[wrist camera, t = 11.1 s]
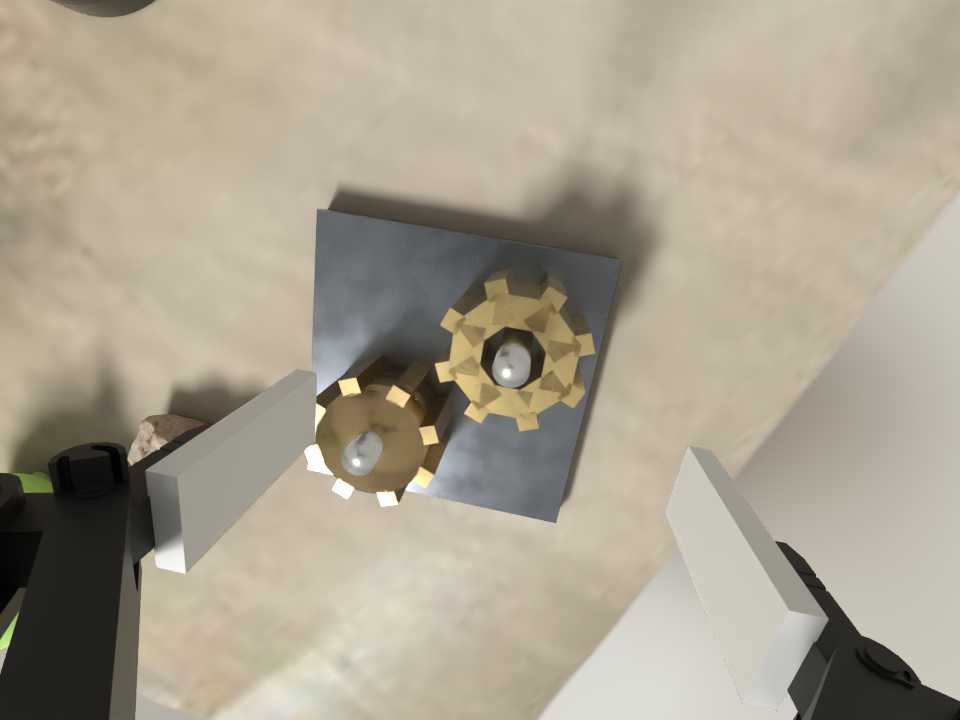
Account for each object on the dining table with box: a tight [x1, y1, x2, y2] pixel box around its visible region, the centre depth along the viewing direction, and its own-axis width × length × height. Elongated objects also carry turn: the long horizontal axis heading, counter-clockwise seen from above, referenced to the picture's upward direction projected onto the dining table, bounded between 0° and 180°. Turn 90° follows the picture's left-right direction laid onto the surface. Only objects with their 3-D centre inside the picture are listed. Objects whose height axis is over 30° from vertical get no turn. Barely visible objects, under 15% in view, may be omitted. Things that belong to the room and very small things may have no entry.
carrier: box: [305, 209, 622, 523], centre depth 30 cm, size 20×20×8 cm
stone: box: [127, 414, 210, 466], centre depth 37 cm, size 9×11×5 cm
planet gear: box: [435, 268, 595, 431], centre depth 28 cm, size 9×9×5 cm
